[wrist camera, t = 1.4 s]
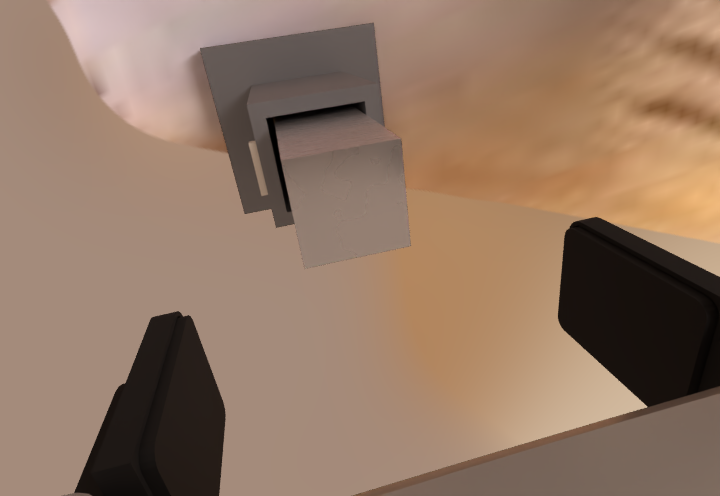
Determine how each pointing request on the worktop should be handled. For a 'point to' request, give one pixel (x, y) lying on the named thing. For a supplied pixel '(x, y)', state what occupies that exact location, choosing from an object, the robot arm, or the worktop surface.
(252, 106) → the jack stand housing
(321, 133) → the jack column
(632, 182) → the worktop surface
